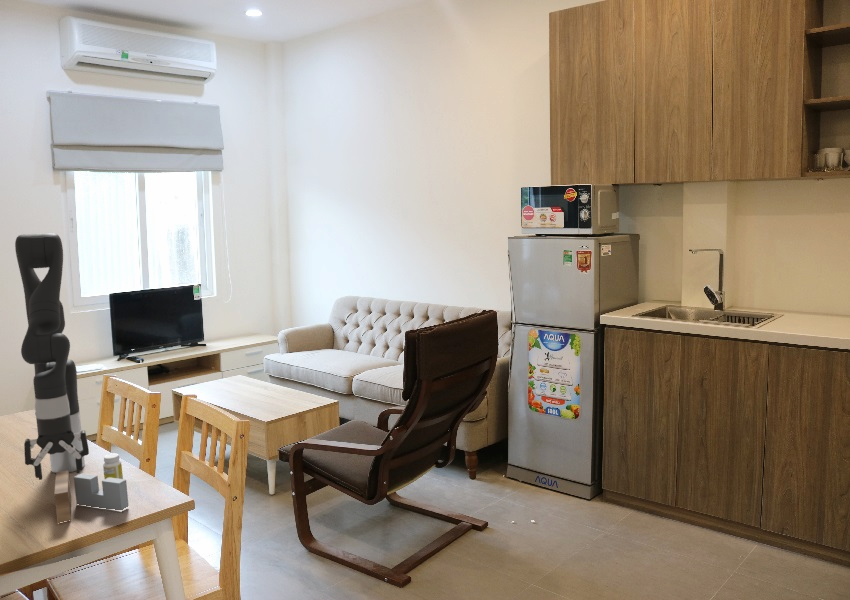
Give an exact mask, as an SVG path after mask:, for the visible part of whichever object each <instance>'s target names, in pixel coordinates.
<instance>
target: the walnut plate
mask: <svg viewBox="0 0 850 600" xmlns="http://www.w3.org/2000/svg"><path fill="white" fill-rule="evenodd" d="M54 501H55V502H54V503H55V512H56V521H57V522H56V523H57V524H58V523H60V522H64V521H69V520H71V521H72V508H71V507H72V492H71V482H70V472H69V471H68V470H67V471H61V472H56V473H55V481H54Z"/></svg>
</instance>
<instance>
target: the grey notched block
mask: <svg viewBox="0 0 850 600" xmlns="http://www.w3.org/2000/svg"><path fill="white" fill-rule="evenodd" d="M73 483H74V493H75V503H76V505H77V504H79V505H86V506H91V507H99V508H106V509H115V510H123V509H124V508H126V507H128V506H129V497H128V496H129V495H128V487H127V486H128V485H127V484H128V483H127V479H125V478H123V479H118V478H111V477H109V478H107V479H105V478H104V479H103V480H101V485H102V489H100V488H99V486H100V485H99V476H98V475H96V474H88V473H81V472H80V473H78V474H77V475H75V476H73Z"/></svg>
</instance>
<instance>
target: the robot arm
mask: <svg viewBox="0 0 850 600" xmlns="http://www.w3.org/2000/svg"><path fill="white" fill-rule="evenodd" d="M62 242H63V241H62V239H61V237H60V236H59V234H57V233H53V232H51V233H49V232H48V233H47V232H45V233H41V232H40V233H26V234H25V233H24V234H23V233H22V234H19V235H18V236H17V237H16V239H15V243H14V247H15V255H16V259H17V264H18V270H19V274H20V278H21V281H22V289H23V292H24V293H23V294H24V301H25V302H24V303H25V310H26V317H27V324H28V325H27V329H26V332H25V334H24V335H25V336H24V337H23V341H22V343H21V344H22V345H21V349H20V350H21V351H20V354H21V358H22V359H23V361H24V362H26V363H27V364H28V365H33V366H34V376H33V391H34V399H35V400H34V402H35V403H34V408H35V410H34V412H35V413H34V414H35V418H36V420H35V421H36V427H37V428H36V430H37V438H36V439H35V438H34V439H30V438H26V439H25V440H24V445H23V446H24V447H23V448H24V464H25V465H26V466H29V465H31V466H33V467H34V476H35V478H36V479H38V480H39V481H40V480H41V481H42V480H43V472H42V471H43V470H42V469H43V468H42V463H41V462H42V461H43V460H44V459H45V457H46V455H47V454H48V455H49V462H50V470H51V471H50V472H51V473H55V474H56V472H61V471H67V470H68V471H69V473H72V472H76V474H81V471H83V468H84V467H85V466H86V464H85V456H88V455H89V453H90V450H89V443H88V438H87V431H86V430H84V429H83V430H82V421H81V413H80V403H79V396H78V375H77V374H78V372H77V366H76V363H75V362H74V360H72V359H69V356H70V351H71V349H70V348H71V342H70V339H69V338H68V337H67V335H65V334H63V332H64V330H65V327H66V321H65V319H66V318H65V312H64V311H65V310H64V306H63V303H62V302H61V300H60V298H61V297H60V295H61V286H62V277H63V268H64V267H63V266H64V249H63V243H62ZM47 268H48V271H47V273H46V274H45V277H44V278H43V279H42V280H41V279H40V277H38V274H37V273H36V271H35V269H47ZM35 445H37V446H38V447H40V448H41V449H40V450H39V452H38V454H37V455H36V457H35V458H34V457H32V449H34V447H35Z"/></svg>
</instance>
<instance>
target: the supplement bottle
mask: <svg viewBox="0 0 850 600" xmlns="http://www.w3.org/2000/svg"><path fill="white" fill-rule="evenodd" d="M102 467H103V475H104V476H103V477H104V480H105V479H107V478H109V477H111V478H118V479H124V475H123V466H122V461H121V459H120V454H118V453H116V452H113V453H108V454H106V455H104V456H103V464H102Z"/></svg>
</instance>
